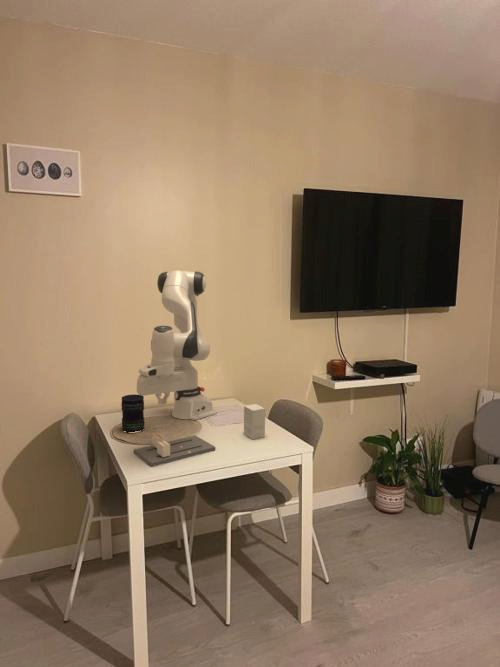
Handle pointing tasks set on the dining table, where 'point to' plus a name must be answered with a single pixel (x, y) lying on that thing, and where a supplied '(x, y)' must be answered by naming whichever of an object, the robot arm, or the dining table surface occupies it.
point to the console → (175, 450)
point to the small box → (254, 421)
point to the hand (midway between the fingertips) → (162, 403)
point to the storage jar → (132, 413)
